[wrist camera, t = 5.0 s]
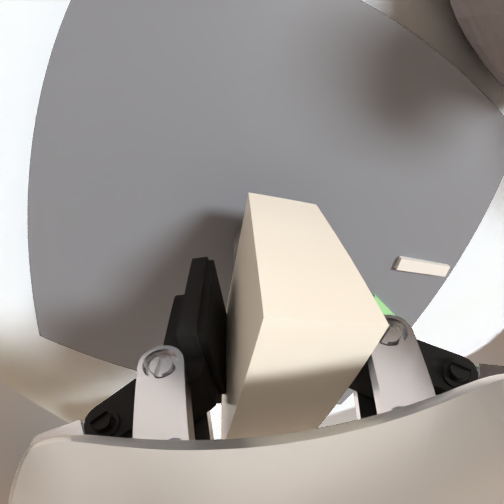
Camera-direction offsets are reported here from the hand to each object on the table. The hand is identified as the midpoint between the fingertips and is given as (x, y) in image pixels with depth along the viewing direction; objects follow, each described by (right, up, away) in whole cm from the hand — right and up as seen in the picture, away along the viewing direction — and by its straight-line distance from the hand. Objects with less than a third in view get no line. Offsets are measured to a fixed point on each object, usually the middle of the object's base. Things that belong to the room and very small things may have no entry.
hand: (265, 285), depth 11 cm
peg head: (-1, -1, +4) cm, 4 cm away
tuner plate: (0, +3, +4) cm, 5 cm away
